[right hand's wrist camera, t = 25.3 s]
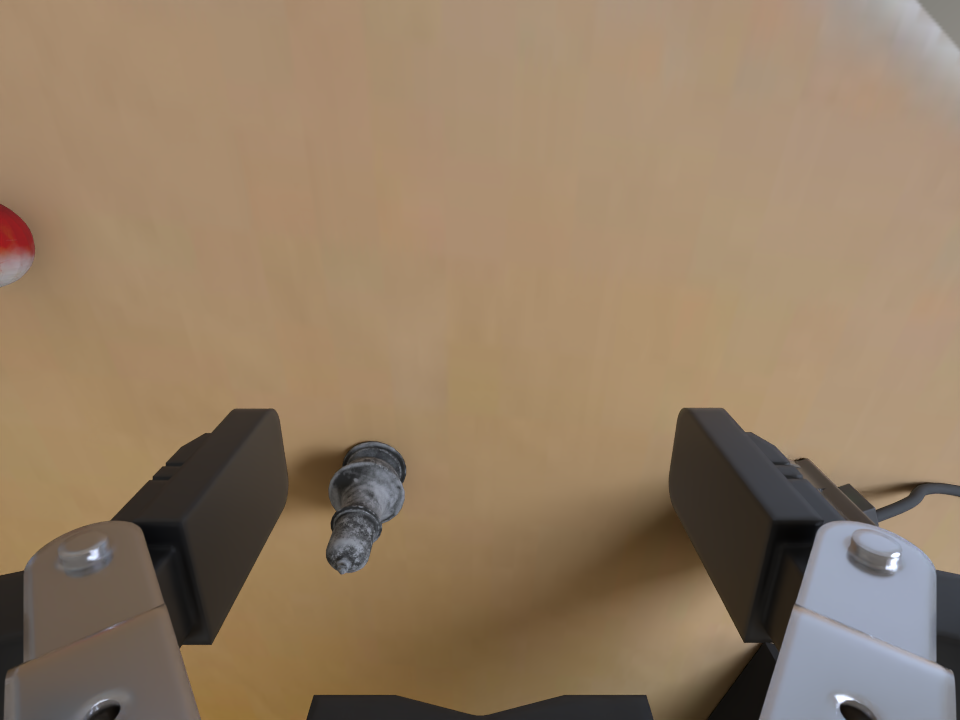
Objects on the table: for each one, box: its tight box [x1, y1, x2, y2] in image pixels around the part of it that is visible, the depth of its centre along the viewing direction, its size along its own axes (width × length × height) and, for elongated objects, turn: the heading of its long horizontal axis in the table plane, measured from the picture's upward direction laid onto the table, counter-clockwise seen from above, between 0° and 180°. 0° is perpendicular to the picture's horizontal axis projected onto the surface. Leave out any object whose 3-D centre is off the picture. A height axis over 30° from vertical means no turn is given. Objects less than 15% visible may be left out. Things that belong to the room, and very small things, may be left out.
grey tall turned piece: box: [326, 442, 406, 574], centre depth 41 cm, size 6×6×12 cm
